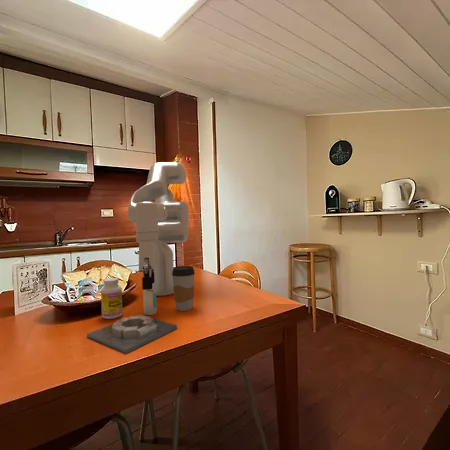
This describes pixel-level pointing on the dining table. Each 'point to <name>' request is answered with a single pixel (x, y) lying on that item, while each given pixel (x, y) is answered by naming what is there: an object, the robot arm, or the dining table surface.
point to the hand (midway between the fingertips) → (148, 286)
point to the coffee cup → (183, 287)
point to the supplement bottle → (111, 299)
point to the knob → (150, 301)
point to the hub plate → (132, 341)
